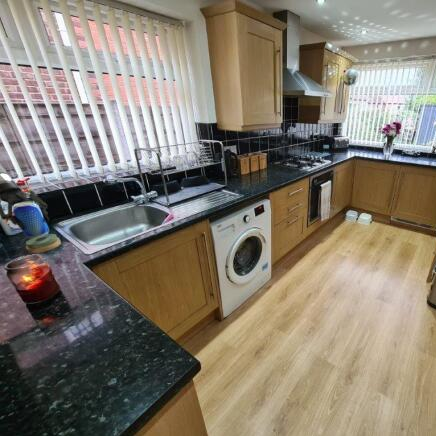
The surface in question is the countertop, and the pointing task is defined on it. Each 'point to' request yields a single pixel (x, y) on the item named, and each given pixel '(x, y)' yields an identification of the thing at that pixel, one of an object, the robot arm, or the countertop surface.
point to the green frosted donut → (42, 243)
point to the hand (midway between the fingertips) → (36, 224)
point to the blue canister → (31, 219)
